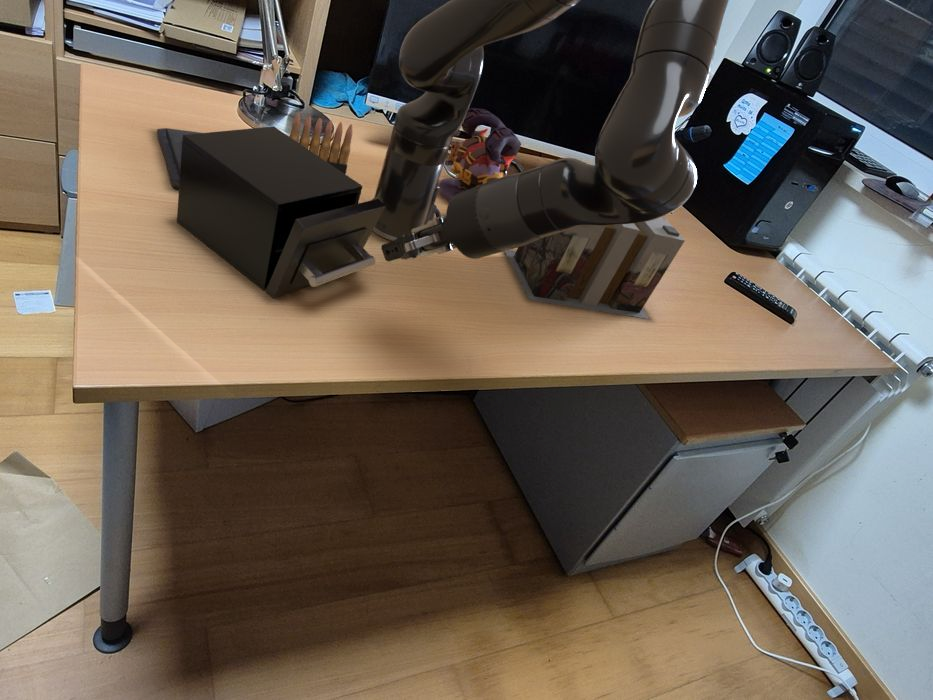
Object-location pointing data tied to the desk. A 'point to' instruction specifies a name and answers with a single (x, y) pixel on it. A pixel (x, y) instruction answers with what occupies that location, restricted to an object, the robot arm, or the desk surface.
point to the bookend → (598, 266)
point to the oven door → (325, 247)
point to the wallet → (172, 151)
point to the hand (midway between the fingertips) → (387, 252)
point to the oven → (254, 194)
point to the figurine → (479, 154)
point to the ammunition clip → (324, 141)
